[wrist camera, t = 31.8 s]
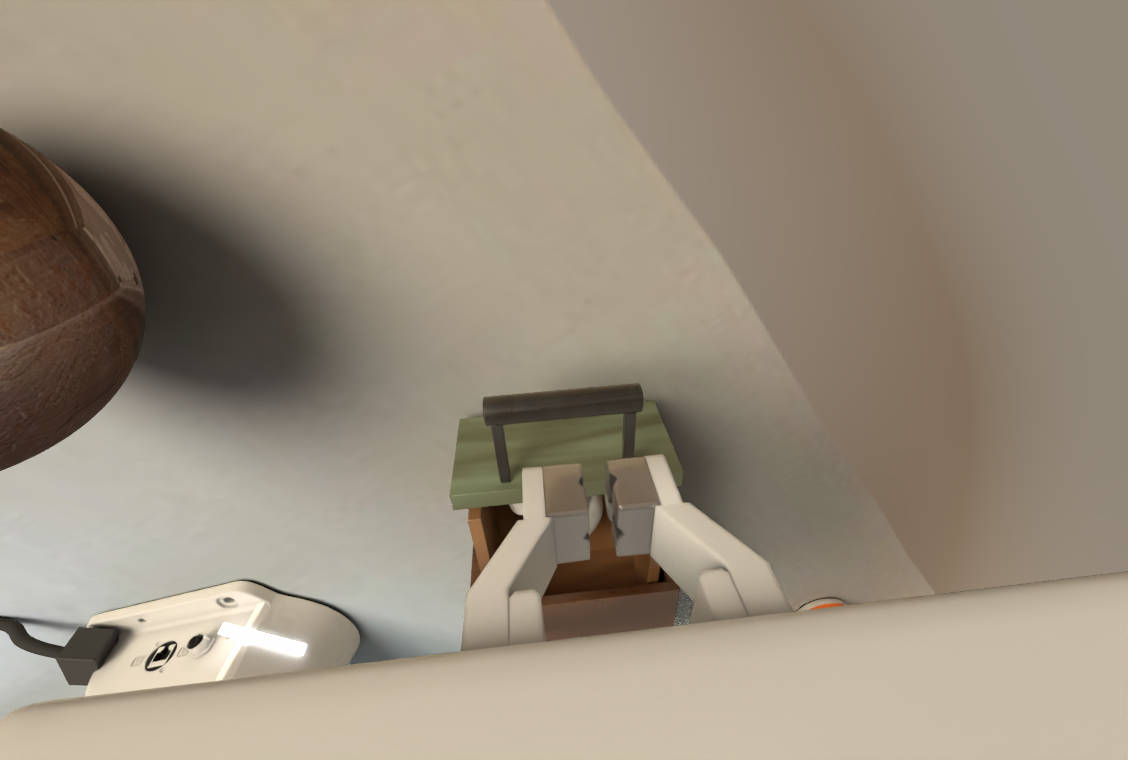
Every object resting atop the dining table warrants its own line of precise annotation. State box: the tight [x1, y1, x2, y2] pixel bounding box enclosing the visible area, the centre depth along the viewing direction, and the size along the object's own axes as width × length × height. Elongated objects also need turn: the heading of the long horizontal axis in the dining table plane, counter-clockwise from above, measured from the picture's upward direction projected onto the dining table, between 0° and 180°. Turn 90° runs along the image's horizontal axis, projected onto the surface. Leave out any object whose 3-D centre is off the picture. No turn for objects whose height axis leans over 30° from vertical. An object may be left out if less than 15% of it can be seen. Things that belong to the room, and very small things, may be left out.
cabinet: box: [470, 544, 680, 641], centre depth 40 cm, size 16×14×8 cm
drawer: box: [450, 383, 684, 596], centre depth 32 cm, size 21×13×7 cm, turn 2°
